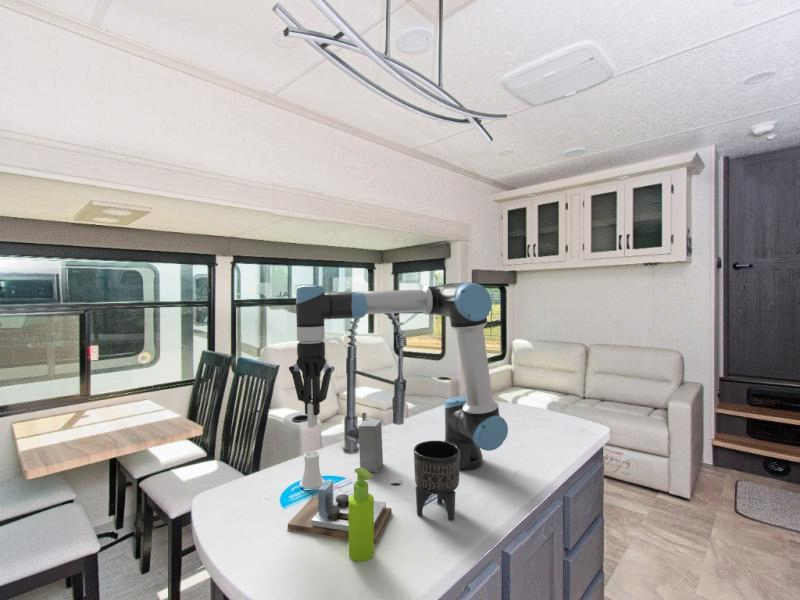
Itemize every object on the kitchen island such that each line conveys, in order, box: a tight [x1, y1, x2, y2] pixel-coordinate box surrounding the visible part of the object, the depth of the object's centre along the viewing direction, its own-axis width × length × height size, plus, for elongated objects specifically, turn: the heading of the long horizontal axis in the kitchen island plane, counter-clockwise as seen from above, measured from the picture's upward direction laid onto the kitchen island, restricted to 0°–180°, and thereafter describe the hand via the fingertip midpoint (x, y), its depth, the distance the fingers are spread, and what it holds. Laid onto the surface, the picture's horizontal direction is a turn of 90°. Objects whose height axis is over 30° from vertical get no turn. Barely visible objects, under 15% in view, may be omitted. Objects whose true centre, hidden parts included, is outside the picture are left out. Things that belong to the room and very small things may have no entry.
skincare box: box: [357, 419, 384, 473], centre depth 140 cm, size 8×7×16 cm
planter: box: [413, 440, 461, 522], centre depth 112 cm, size 13×13×18 cm
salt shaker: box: [299, 450, 325, 491], centre depth 127 cm, size 8×8×10 cm
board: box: [287, 493, 393, 546], centre depth 107 cm, size 24×14×5 cm, turn 75°
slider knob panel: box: [311, 480, 387, 531], centre depth 107 cm, size 16×13×7 cm
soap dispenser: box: [348, 466, 375, 563], centre depth 94 cm, size 6×7×20 cm
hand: (312, 425), depth 111 cm, fingers closed
